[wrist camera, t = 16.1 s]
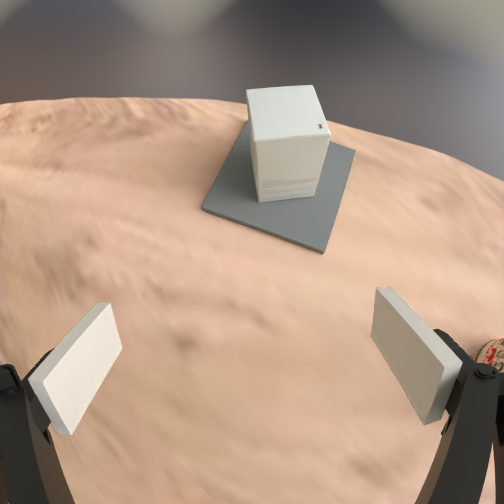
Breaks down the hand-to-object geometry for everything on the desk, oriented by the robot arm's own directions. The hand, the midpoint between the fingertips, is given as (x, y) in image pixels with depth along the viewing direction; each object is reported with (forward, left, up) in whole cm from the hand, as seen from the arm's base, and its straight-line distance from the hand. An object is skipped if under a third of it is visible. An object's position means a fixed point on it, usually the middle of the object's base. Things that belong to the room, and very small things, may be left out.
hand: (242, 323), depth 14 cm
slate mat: (-4, +20, -21) cm, 30 cm away
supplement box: (-4, +20, -20) cm, 29 cm away
